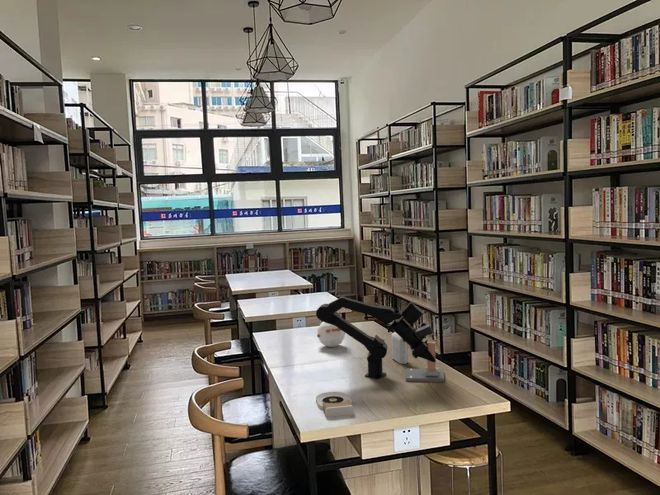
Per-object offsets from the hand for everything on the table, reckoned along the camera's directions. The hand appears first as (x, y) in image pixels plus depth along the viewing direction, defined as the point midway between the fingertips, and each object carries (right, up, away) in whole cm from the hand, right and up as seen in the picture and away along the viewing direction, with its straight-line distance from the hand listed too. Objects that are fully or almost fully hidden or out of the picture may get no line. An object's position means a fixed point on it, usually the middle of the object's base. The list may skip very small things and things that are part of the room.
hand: (435, 360), depth 207 cm
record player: (-39, -10, -25) cm, 48 cm away
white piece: (-41, -4, +53) cm, 67 cm away
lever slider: (-1, -5, +1) cm, 5 cm away
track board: (-4, -7, +1) cm, 8 cm away
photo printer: (-11, -5, +24) cm, 27 cm away
